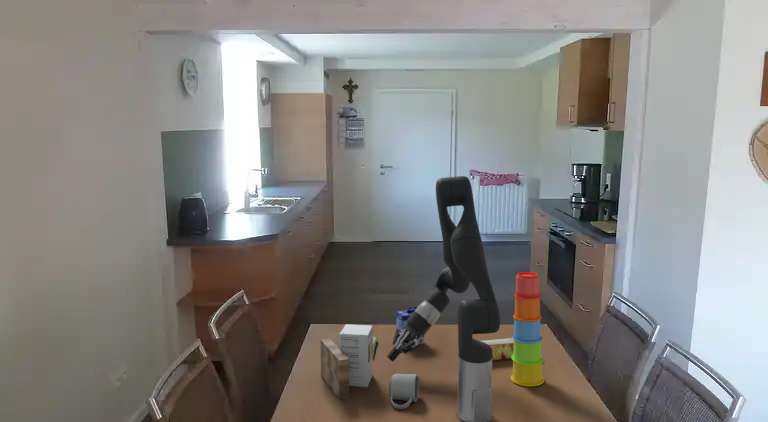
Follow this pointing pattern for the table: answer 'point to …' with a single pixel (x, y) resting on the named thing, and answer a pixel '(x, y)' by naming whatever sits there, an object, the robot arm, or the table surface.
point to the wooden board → (335, 368)
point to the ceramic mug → (403, 389)
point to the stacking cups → (527, 332)
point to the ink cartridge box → (402, 321)
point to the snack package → (501, 348)
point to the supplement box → (358, 352)
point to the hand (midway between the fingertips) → (389, 359)
